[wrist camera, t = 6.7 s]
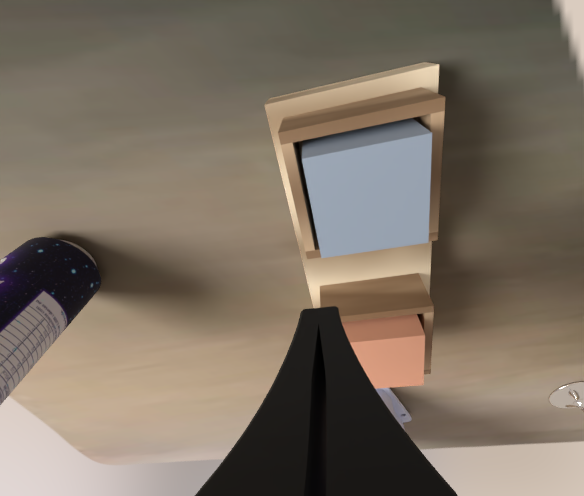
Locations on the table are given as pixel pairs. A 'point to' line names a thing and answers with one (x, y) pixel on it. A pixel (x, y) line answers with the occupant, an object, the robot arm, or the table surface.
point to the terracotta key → (389, 349)
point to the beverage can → (39, 301)
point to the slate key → (370, 187)
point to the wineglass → (569, 396)
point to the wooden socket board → (288, 144)
